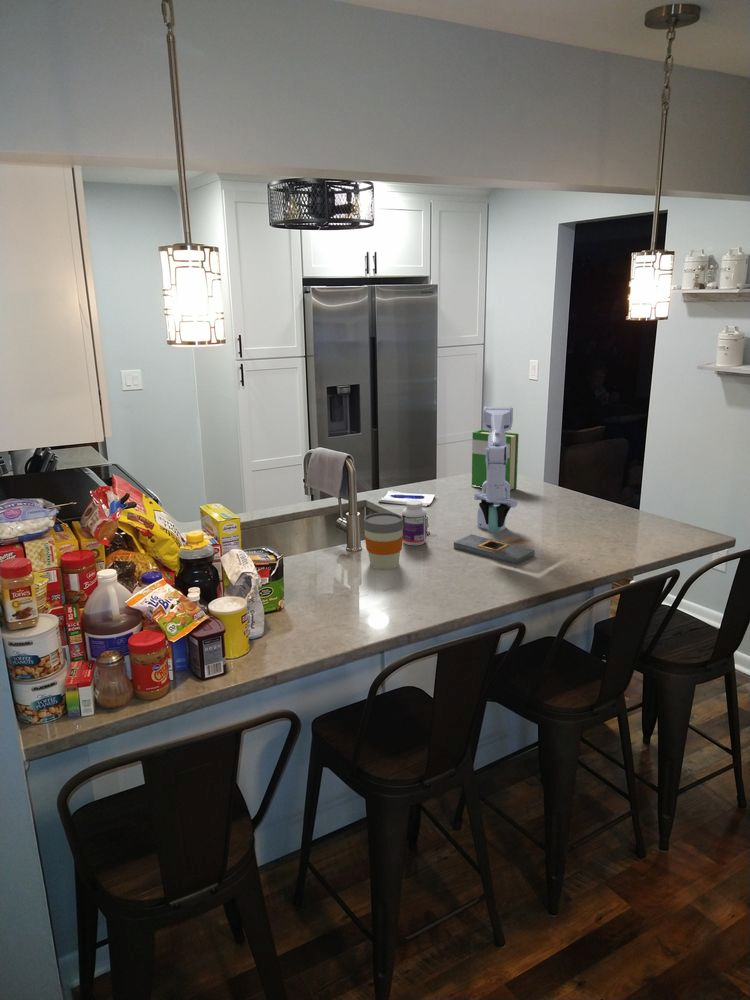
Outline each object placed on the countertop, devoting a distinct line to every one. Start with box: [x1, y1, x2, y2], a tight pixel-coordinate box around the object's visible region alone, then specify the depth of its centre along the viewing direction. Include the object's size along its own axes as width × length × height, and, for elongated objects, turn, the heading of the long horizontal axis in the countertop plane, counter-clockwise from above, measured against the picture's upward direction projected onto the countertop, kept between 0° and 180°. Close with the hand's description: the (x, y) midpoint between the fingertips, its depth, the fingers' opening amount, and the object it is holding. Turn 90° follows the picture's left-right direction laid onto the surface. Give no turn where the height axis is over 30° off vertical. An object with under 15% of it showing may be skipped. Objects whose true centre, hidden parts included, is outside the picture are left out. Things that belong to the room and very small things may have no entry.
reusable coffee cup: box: [363, 512, 404, 570], centre depth 221 cm, size 13×13×15 cm
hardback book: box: [471, 429, 519, 491], centre depth 302 cm, size 18×7×24 cm, turn 52°
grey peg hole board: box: [453, 533, 535, 569], centre depth 228 cm, size 24×10×3 cm, turn 48°
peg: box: [487, 505, 502, 534], centre depth 226 cm, size 4×4×8 cm
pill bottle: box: [401, 499, 427, 547], centre depth 239 cm, size 8×8×14 cm
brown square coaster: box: [499, 535, 532, 547], centre depth 238 cm, size 8×8×1 cm
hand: (494, 524), depth 226 cm, fingers closed on peg, 4 cm apart
